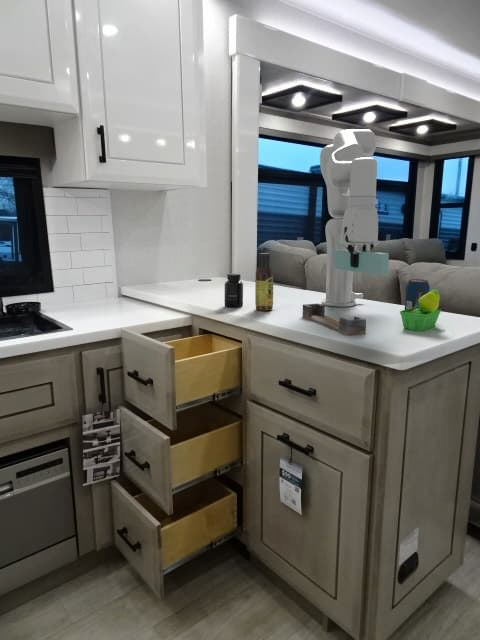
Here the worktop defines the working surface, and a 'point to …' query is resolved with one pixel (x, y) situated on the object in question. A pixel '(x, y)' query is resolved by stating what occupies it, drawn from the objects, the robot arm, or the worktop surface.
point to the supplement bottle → (233, 291)
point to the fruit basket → (422, 313)
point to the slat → (363, 262)
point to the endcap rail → (343, 325)
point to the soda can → (415, 292)
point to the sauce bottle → (264, 284)
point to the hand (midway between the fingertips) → (358, 266)
